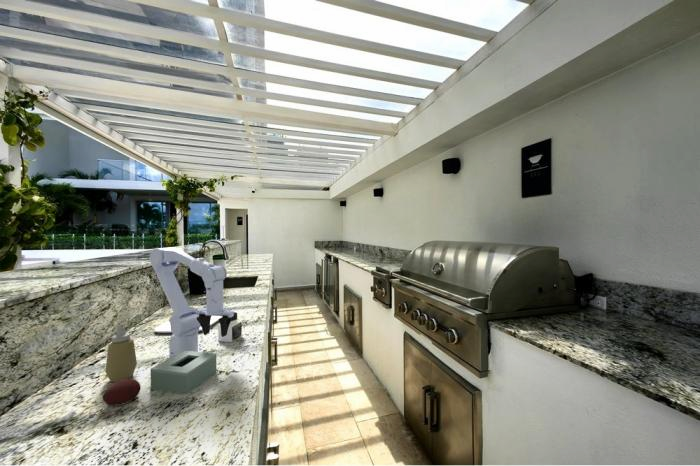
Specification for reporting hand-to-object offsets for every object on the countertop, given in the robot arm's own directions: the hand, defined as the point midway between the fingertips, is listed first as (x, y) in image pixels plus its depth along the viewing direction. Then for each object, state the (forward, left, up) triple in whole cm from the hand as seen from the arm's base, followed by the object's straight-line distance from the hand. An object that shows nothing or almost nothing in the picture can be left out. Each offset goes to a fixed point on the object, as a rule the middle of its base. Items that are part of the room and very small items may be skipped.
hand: (215, 334), depth 102 cm
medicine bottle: (-8, +20, -10) cm, 24 cm away
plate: (-39, +31, -10) cm, 51 cm away
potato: (-10, -26, -10) cm, 30 cm away
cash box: (-1, -13, -10) cm, 17 cm away
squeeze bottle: (-23, -16, -10) cm, 30 cm away
